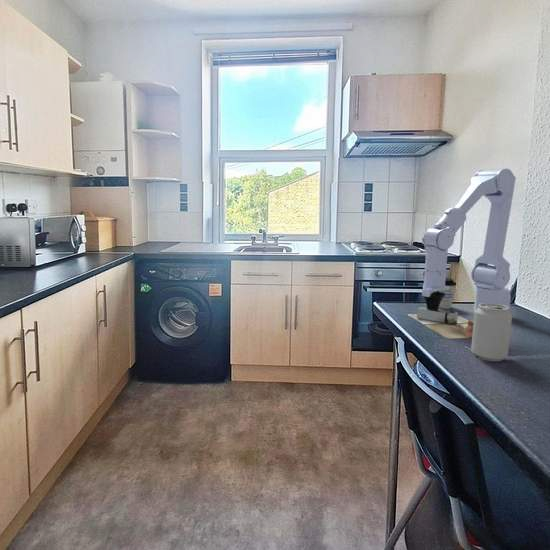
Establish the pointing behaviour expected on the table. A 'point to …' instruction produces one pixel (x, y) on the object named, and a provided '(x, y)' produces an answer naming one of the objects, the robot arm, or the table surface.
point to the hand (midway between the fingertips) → (431, 316)
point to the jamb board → (449, 327)
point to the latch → (437, 315)
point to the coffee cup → (448, 294)
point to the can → (491, 332)
